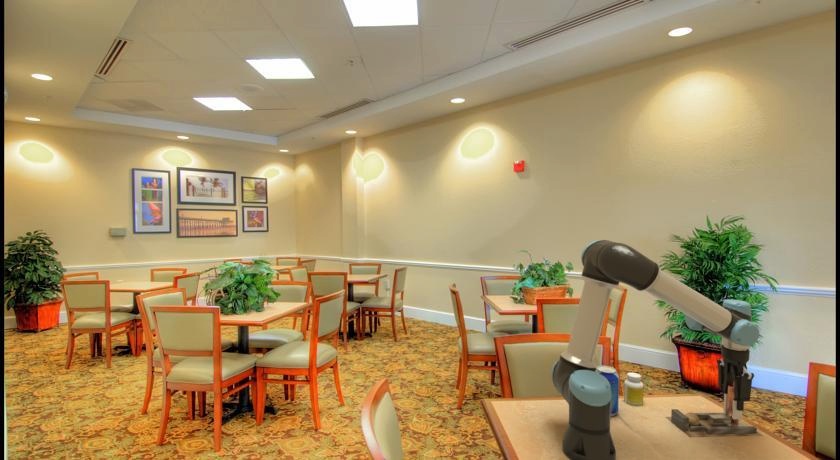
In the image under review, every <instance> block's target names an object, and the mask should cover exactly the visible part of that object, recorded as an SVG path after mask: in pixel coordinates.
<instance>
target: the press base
mask: <svg viewBox="0 0 840 460" xmlns="http://www.w3.org/2000/svg"><path fill="white" fill-rule="evenodd" d="M693 413H694V414H696V415H697V416H698V418H699V421H700V422H699V425H698V426H689V418H688V417H687V416H686V415H685V414H684V412H681V411H680V410H679V409H678V408H677V409H673V408H671V416H665V419H667V420H668V421H669V422H670V423H672V424H673V425H675V426H676V427H677V428H678V429H679V430H681V432H683V433H684V434H685V435H686V436H688V437H689V438H708V437H709V438H710V437H711V438H714V437H715V438H719V437H761V436H762V437H763V436H764V435H763V434H761V433H760V432H758V428H757V427H756V426H754V425H750V426H749V425H747V426H736V427H725V426H724V425H722V424H721V423H719V424H713V423H712V422H710V421H709V420H708V415H725V413H724V412H693ZM726 415H727V414H726Z"/></svg>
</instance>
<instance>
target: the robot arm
mask: <svg viewBox="0 0 840 460" xmlns="http://www.w3.org/2000/svg"><path fill="white" fill-rule="evenodd" d="M580 259H581V263H582V266H583V268H582V273H581V278H582V279H583V281H584V284H583V288H582V291H581V295H580V299H579V303H578V307H577V311H576V314H575V318H574V321H573V322H574V323H573V326H572V330H571V332H570V337H569V341H568V344H567V349H566V350H565V351H562V352H561V353H560V355H559V358H558V360H556V361H555V362H554V363H553V365H552V368H551V369H550V377H551V381H552V384H553V386H554V388H555V389H556V391H557V392H558V393H559V394H560V395H561V396H562V398H563V399H564V400H565V401H566V403H567V404H568V424H567V428H566V431H565V432H564V436H563V437H562V442H561V443H562V446H561V448H562V452H563V454H565V456H566V457H567V458H568V459H570V460H616V459H617V457H616V456H617V449H616V447H615V443H614V440H613V436H612V433H611V417H610V411H611V387H610V383H609V381H608V380H607V379H606V378H605V377H604V376H603V375H601V374H597V373H596V372H595V371H596V369H597V367H598V364H597V363H596V361H595V360H594V358H595V354H596V350H597V347H598V344H599V339H600V337H601V332H602V329H603V325H604V321H605V317H606V313H607V309H608V306H609V302H610V299H611V295H612V291H613V289H615V288H617V287H618V286H619V285H620V283H622V284H625V285H627V286H630V287H631V288H633V289H635V290H637V291H639V292H644V291H646V292H647V293H648V294H650V295H652V296H654V297H656V298H657V299H659V300H661V301H662V302H664V303H666V304H667V305H668V306H670V307H672V308H674V309H676V310H677V311H679V312H680V313H683V315H684V321H685V324H686V326H687V327H688V328H689V329H690V330H693V331H699V332H701V331H706V332H709V333H711V334H713V335H715V336H718V337H720V338H721V341H720V342H721V351H720V353H721V354H720V355H721V357H722V359H717V360H716V363H717V369H718V370H717V374H718V375H717V376H718V378H717V379H718V381H717V382H718V389H719V390H721V391H722V393H723V399H722V400H723V413H725V414H727V398H728V385H734V388H735V398H733V416H732V418H733V419H739V420H743V411H744V408H745V407H744V405H745V402H751V394H752V384H753V379H754V377H755V373H753V372H750V371H749V370H748V366H747V363H748V362H749V361H750V352H751V351H750V346H752V345H755V344H756V343H757V341H758V340H759V338H760V329H759V327H758V326H757V325H756V324H755V323H754V322H752V317H753V315H752V306H751V303H750V302H747V301H744V300H740V299H725V300H723V302H722V305H720V304H718V303H717V302H715V301H713V300H712V299H710V298H708V297H707V296H705V295H703V294H702V293H700V292H698V291H696V290H695V289H693V288H692V287H690V286H688V285H686V284H685V283H683V282H682V281H680V280H678V279H677V278H675V277H673V276H672V275H670V274H668V273H667V272H665V271H663V270H661V268H660V265H659V264H658V263H657V262H655V261H654V260H652V259H650V258H649V257H647V256H646V255H644V254H642V253H641V252H639V251H638V250H637V249H635V248H634V247H632V246H630V245H628V244H626V243H624V242H623V243H622V242H616V241H611V240H606V239H596V240H594V241H593V240H592V241H591V242H589V243H588V244H587V245H586V246H584V248H583V249H582V252H581V257H580Z"/></svg>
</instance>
